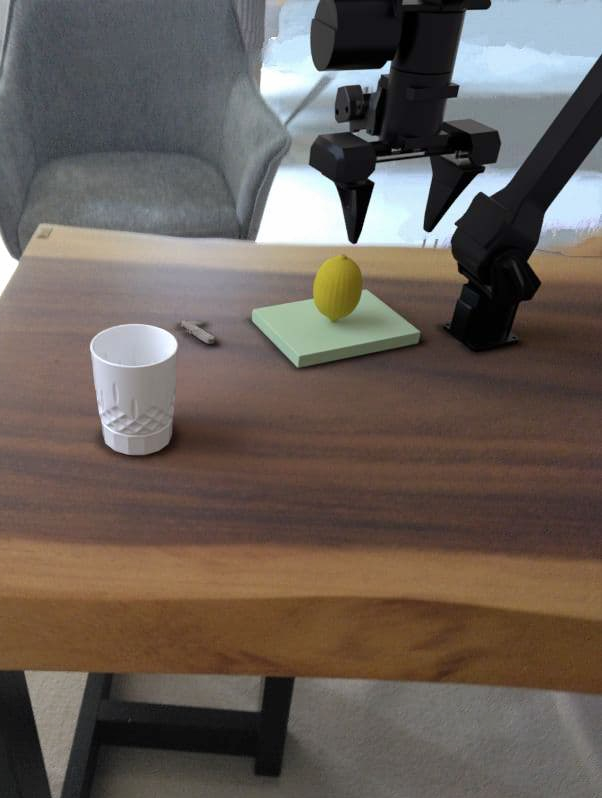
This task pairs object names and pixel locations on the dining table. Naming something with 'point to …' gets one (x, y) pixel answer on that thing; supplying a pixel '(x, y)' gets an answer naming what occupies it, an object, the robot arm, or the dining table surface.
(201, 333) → the pocket knife
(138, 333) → the white cup
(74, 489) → the dining table surface
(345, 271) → the lemon
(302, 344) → the cutting board
